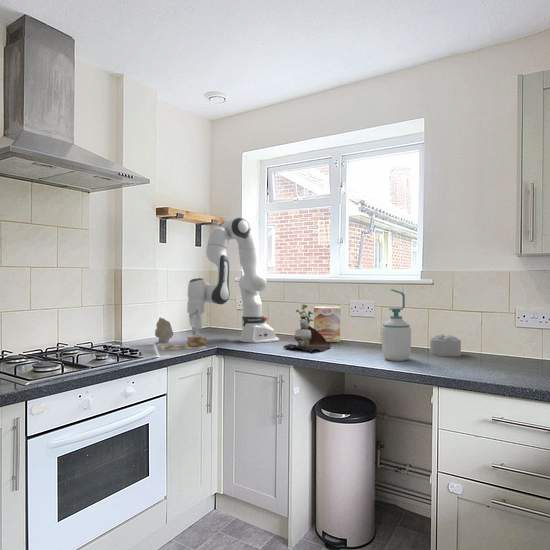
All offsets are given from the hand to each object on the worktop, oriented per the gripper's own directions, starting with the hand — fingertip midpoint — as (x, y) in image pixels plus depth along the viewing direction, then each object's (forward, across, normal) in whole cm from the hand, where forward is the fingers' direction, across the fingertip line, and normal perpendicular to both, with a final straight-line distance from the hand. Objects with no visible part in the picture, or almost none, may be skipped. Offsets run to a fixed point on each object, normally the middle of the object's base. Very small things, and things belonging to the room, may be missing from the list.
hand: (195, 335), depth 220 cm
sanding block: (+5, 0, -1) cm, 5 cm away
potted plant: (+5, -21, -55) cm, 59 cm away
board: (+6, 0, +6) cm, 9 cm away
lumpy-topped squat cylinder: (+4, -58, -109) cm, 123 cm away
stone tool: (+7, +19, +14) cm, 25 cm away
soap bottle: (+5, -61, -81) cm, 101 cm away
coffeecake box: (+5, -2, -75) cm, 75 cm away
